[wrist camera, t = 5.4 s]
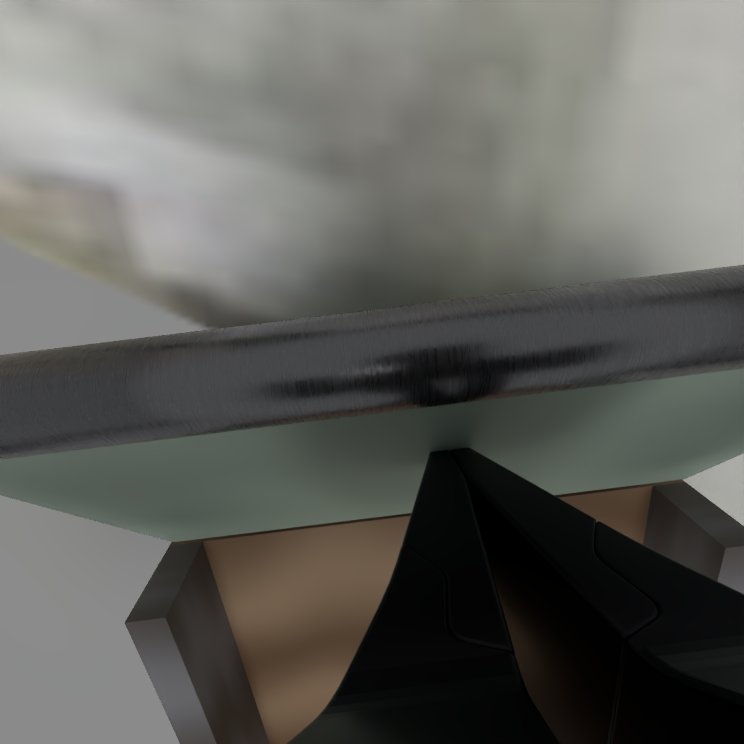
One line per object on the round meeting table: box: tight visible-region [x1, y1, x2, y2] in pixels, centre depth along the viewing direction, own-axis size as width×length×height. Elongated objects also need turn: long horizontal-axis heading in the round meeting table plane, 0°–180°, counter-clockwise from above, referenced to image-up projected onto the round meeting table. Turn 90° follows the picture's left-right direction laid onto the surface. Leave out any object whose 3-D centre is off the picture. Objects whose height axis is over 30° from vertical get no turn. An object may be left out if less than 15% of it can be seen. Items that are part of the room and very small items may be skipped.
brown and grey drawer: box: [125, 480, 744, 744], centre depth 15 cm, size 14×19×7 cm
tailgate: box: [0, 265, 744, 542], centre depth 10 cm, size 2×18×10 cm
